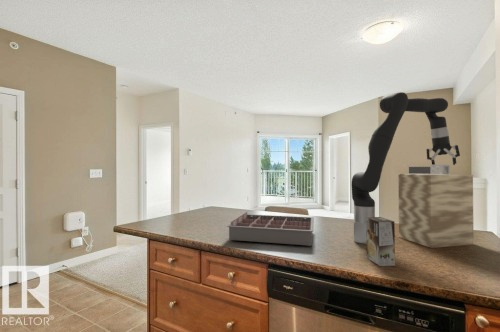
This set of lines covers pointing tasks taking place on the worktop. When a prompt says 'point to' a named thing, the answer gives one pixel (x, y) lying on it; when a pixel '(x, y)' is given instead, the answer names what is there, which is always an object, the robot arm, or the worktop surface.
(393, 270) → the worktop surface
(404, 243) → the worktop surface
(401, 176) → the wood grain block
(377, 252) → the coffee box
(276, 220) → the organizer tray
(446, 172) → the bar
